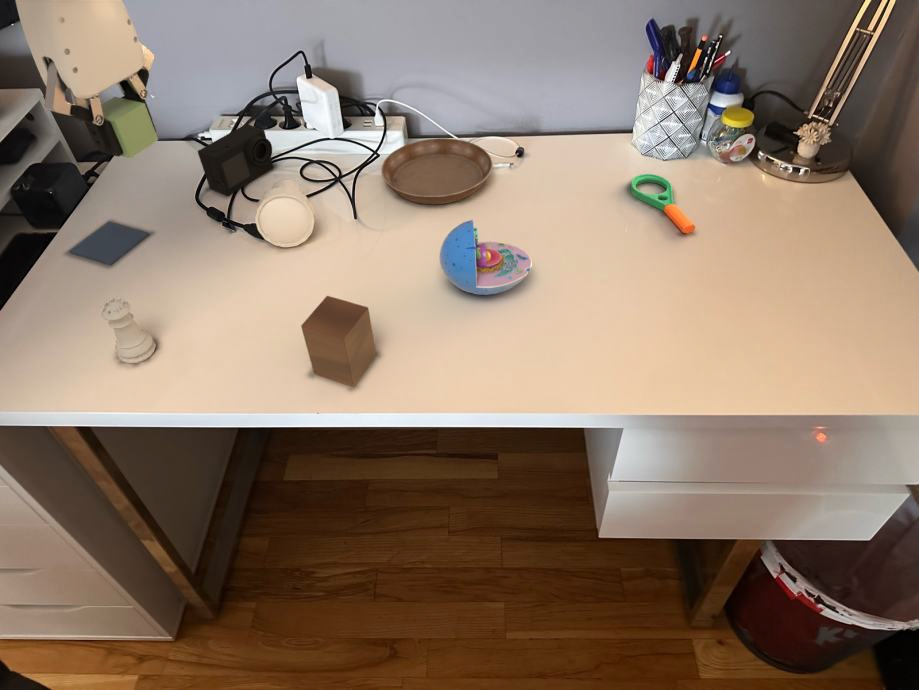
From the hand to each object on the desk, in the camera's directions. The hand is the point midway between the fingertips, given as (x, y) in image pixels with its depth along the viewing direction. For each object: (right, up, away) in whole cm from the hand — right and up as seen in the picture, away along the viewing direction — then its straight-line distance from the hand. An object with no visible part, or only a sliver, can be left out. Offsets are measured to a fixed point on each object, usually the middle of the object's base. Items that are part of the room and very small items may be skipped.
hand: (128, 140), depth 77 cm
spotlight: (+13, -6, +24) cm, 27 cm away
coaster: (-13, -9, +22) cm, 27 cm away
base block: (+24, -26, +3) cm, 36 cm away
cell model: (+42, -16, +13) cm, 46 cm away
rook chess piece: (-2, -25, +6) cm, 25 cm away
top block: (0, 0, 0) cm, 1 cm away
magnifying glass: (+69, -3, +25) cm, 73 cm away
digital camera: (+3, +4, +34) cm, 34 cm away
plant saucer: (+35, +3, +32) cm, 47 cm away
